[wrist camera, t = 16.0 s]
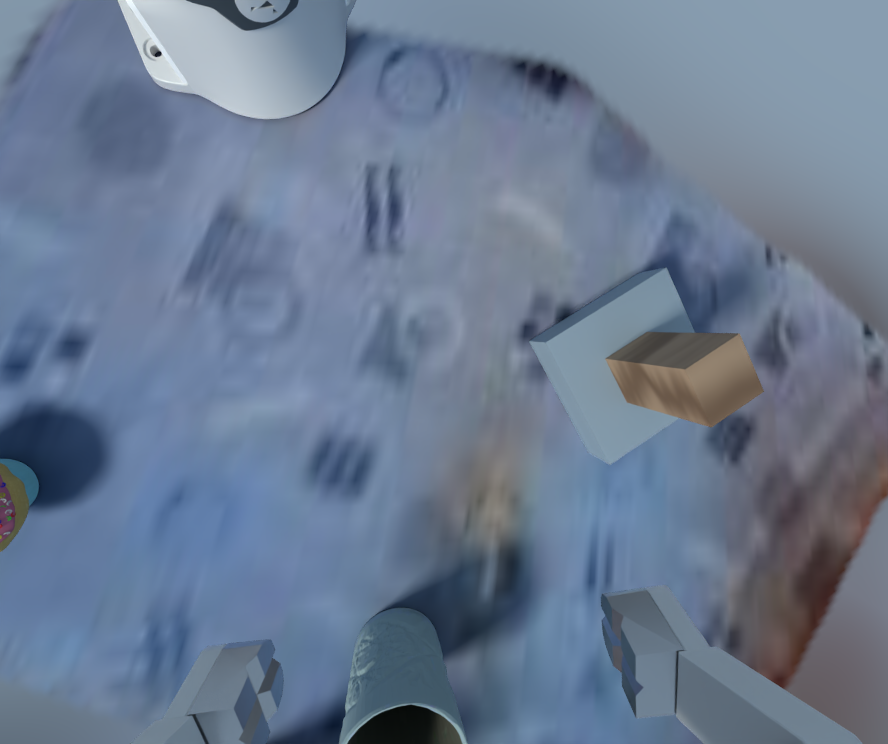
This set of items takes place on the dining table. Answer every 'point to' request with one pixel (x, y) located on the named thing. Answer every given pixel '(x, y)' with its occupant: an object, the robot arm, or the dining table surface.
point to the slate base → (586, 371)
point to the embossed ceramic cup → (400, 685)
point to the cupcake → (15, 497)
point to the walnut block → (686, 374)
